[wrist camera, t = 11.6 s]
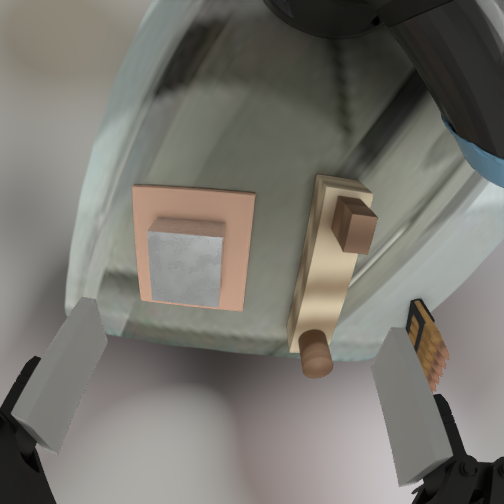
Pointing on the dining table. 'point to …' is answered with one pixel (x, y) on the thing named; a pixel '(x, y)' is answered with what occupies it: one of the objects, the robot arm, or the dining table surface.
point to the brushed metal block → (186, 260)
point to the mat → (198, 208)
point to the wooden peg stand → (328, 267)
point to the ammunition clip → (426, 342)
